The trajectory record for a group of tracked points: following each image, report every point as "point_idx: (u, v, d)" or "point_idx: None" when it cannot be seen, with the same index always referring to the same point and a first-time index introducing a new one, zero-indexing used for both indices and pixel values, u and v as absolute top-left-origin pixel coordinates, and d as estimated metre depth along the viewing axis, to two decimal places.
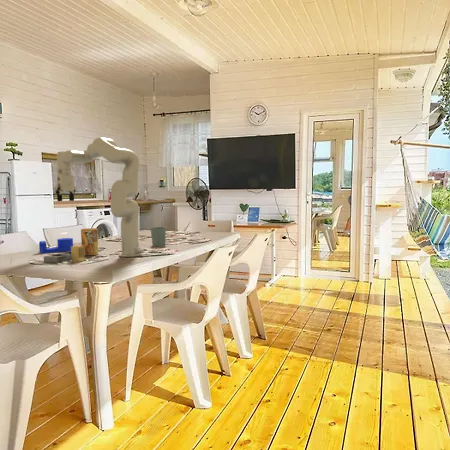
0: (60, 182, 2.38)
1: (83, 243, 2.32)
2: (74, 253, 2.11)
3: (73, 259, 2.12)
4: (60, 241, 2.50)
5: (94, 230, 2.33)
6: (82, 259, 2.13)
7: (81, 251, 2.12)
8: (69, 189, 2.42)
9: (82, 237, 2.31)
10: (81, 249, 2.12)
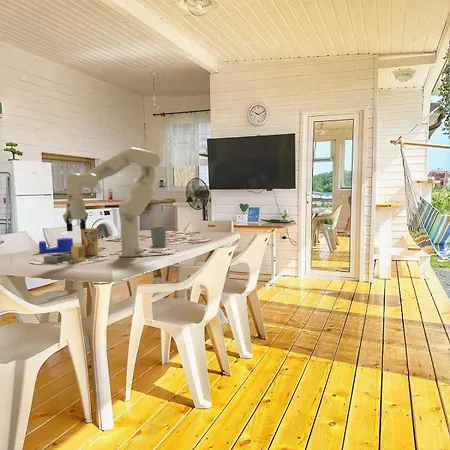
0: (70, 209, 2.06)
1: (83, 243, 2.32)
2: (74, 253, 2.11)
3: (73, 259, 2.12)
4: (60, 241, 2.50)
5: (94, 230, 2.33)
6: (82, 259, 2.13)
7: (81, 251, 2.12)
8: (80, 217, 2.11)
9: (82, 237, 2.31)
10: (81, 249, 2.12)
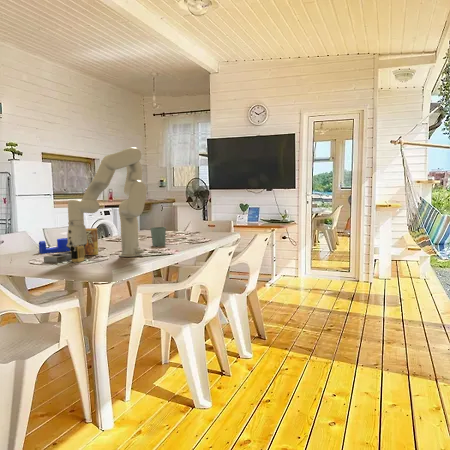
0: (72, 236, 2.07)
1: None
2: None
3: (73, 259, 2.12)
4: (60, 241, 2.50)
5: (94, 230, 2.33)
6: (82, 259, 2.13)
7: (81, 251, 2.12)
8: (82, 242, 2.12)
9: None
10: (81, 249, 2.12)
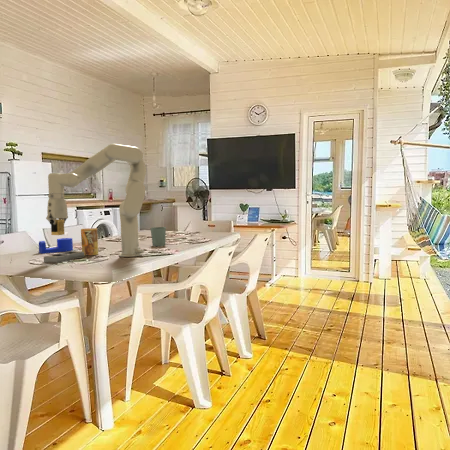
0: (51, 208, 2.07)
1: (83, 243, 2.32)
2: None
3: (52, 232, 2.12)
4: (59, 241, 2.50)
5: (94, 230, 2.33)
6: (62, 233, 2.13)
7: (61, 224, 2.12)
8: (62, 216, 2.12)
9: (82, 237, 2.31)
10: (61, 222, 2.12)
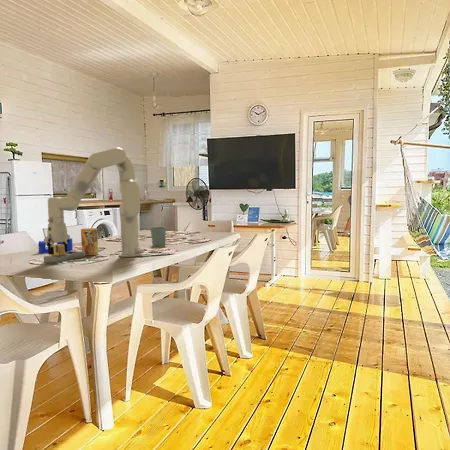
0: (51, 233, 2.09)
1: (83, 243, 2.32)
2: (54, 252, 2.13)
3: None
4: None
5: (94, 230, 2.33)
6: None
7: (61, 250, 2.14)
8: (62, 240, 2.13)
9: (82, 237, 2.31)
10: (61, 248, 2.14)
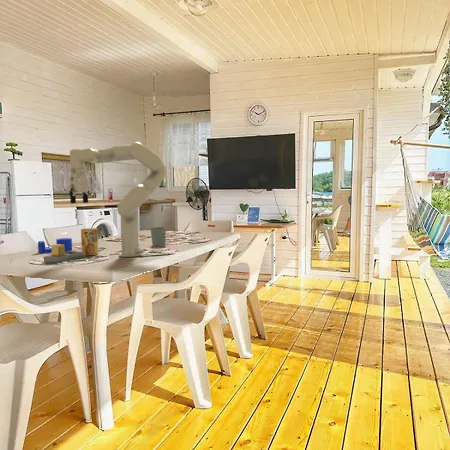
0: (74, 182, 2.19)
1: (83, 243, 2.32)
2: (54, 252, 2.13)
3: None
4: (59, 241, 2.50)
5: (94, 230, 2.33)
6: None
7: (61, 250, 2.14)
8: (83, 190, 2.24)
9: (82, 237, 2.31)
10: (61, 248, 2.14)
